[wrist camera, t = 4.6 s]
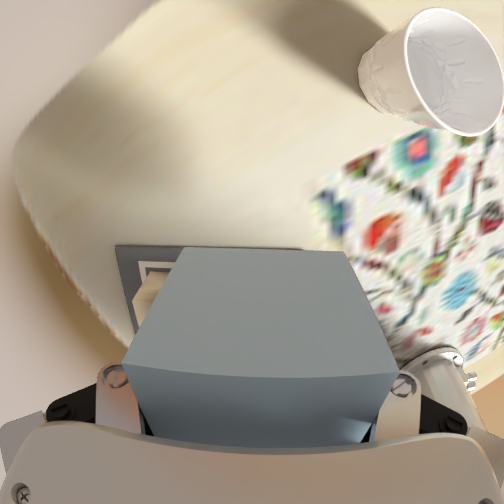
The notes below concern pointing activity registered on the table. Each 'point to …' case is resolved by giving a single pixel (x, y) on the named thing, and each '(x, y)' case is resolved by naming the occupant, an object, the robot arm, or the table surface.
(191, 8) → the table surface
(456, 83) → the white cup
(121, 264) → the mat
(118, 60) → the table surface
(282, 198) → the table surface
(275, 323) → the blue block
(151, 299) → the base block
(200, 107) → the table surface
